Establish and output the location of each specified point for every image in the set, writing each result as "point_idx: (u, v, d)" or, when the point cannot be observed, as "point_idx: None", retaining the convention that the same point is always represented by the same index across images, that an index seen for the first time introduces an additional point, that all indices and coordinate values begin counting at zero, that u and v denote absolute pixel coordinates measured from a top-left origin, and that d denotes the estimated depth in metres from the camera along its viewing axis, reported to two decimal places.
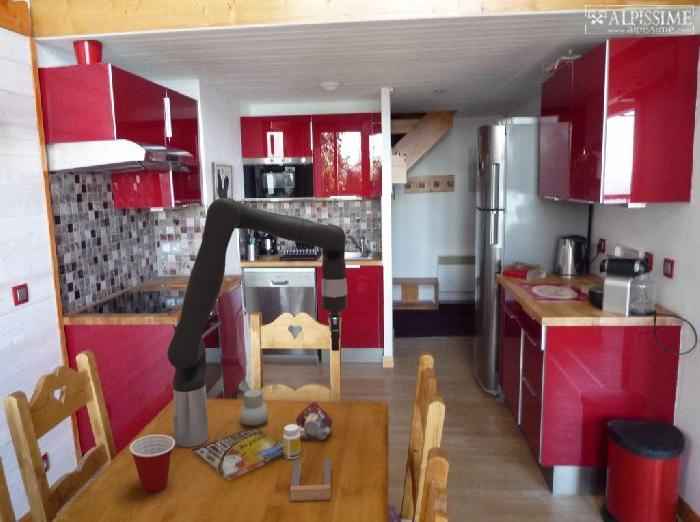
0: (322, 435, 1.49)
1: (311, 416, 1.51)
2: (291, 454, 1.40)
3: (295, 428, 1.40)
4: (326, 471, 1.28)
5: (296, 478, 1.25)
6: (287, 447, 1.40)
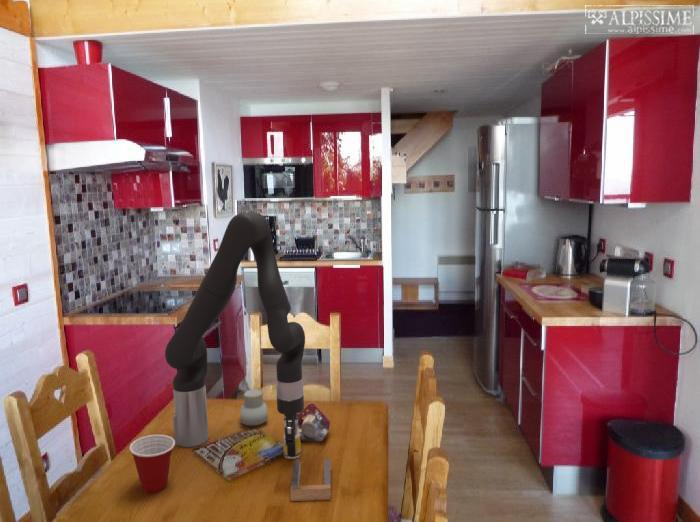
0: (319, 437, 1.48)
1: (309, 417, 1.50)
2: None
3: None
4: (326, 471, 1.28)
5: (296, 478, 1.25)
6: None
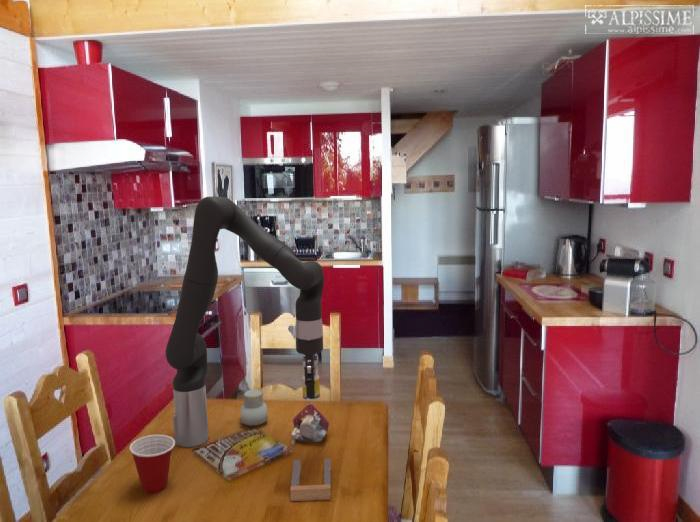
0: (317, 438, 1.48)
1: (307, 418, 1.50)
2: None
3: None
4: (326, 471, 1.28)
5: (296, 478, 1.25)
6: None
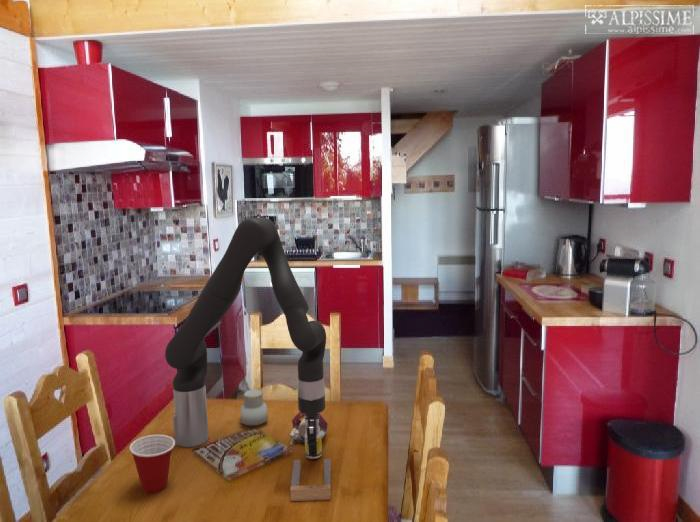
0: None
1: None
2: None
3: None
4: (326, 471, 1.28)
5: (296, 478, 1.25)
6: None
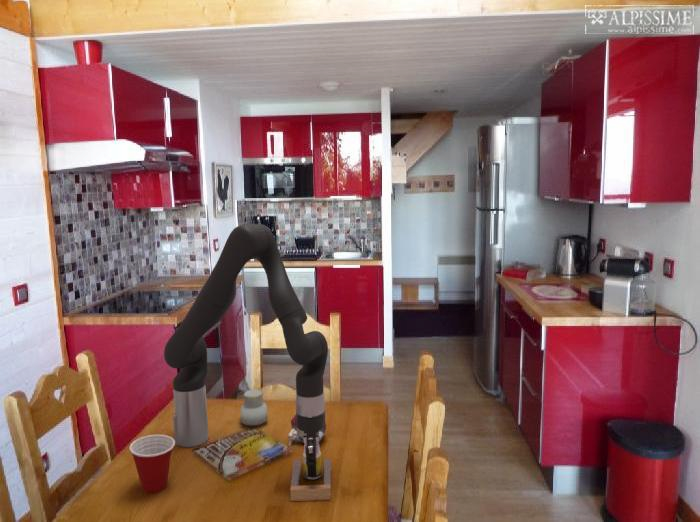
0: None
1: None
2: None
3: None
4: (326, 471, 1.28)
5: (296, 478, 1.25)
6: None
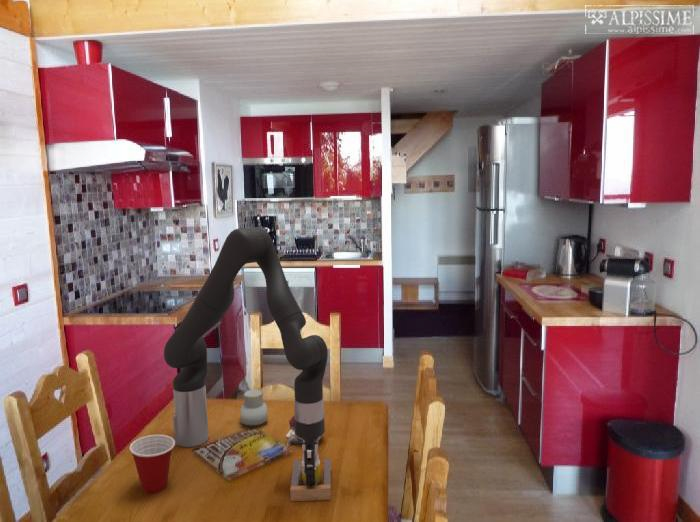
0: None
1: None
2: None
3: None
4: (326, 471, 1.28)
5: (296, 478, 1.25)
6: None
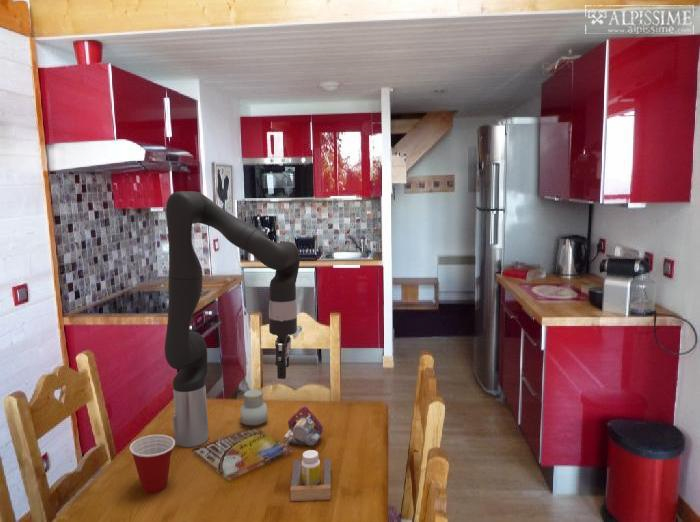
0: (310, 441, 1.46)
1: (301, 421, 1.48)
2: (311, 484, 1.25)
3: (315, 455, 1.26)
4: (326, 471, 1.28)
5: (296, 478, 1.25)
6: (306, 476, 1.25)
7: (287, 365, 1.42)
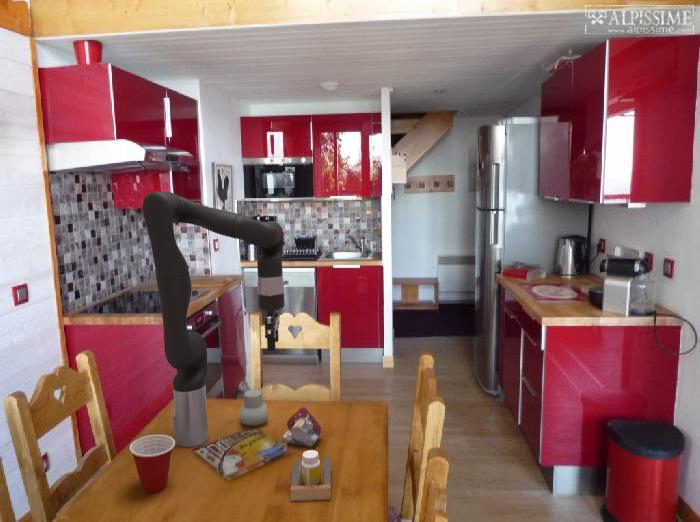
0: (308, 442, 1.45)
1: (299, 421, 1.47)
2: (311, 484, 1.25)
3: (315, 455, 1.26)
4: (326, 471, 1.28)
5: (296, 478, 1.25)
6: (306, 477, 1.25)
7: (277, 340, 1.49)
